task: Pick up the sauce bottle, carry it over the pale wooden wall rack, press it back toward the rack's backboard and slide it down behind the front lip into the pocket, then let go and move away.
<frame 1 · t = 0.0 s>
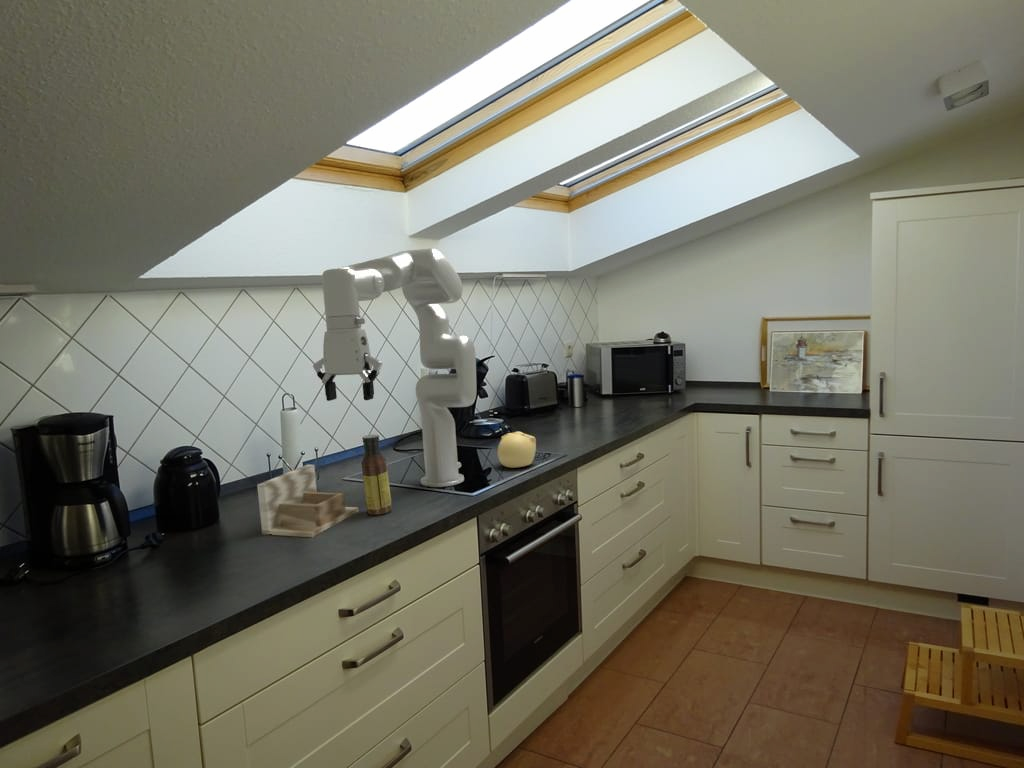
hand: (350, 399, 161), 31 cm above the countertop, tool pointing down, fingers open, 9 cm apart
wall rack: (312, 522, 175), on the countertop
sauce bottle: (379, 513, 181), on the countertop
pale yellow rounded lump: (517, 466, 222), on the countertop
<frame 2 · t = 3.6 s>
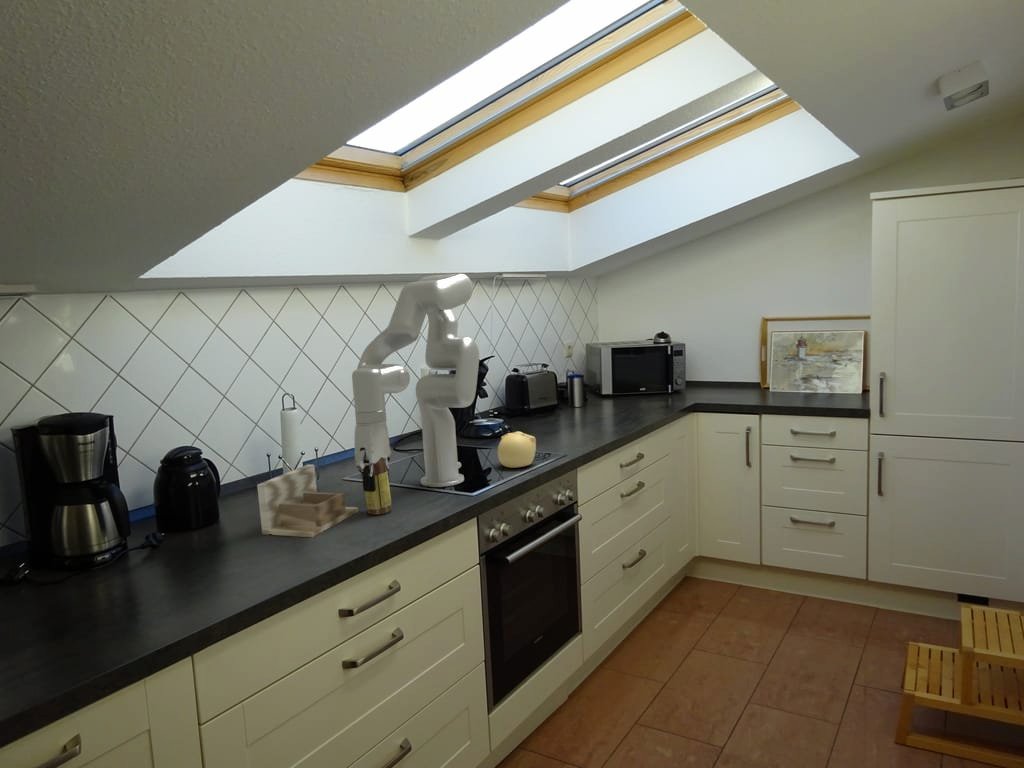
hand: (376, 486, 180), 7 cm above the countertop, tool pointing down, fingers closed on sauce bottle, 6 cm apart
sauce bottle: (379, 513, 181), on the countertop, touching gripper
everything else where it was.
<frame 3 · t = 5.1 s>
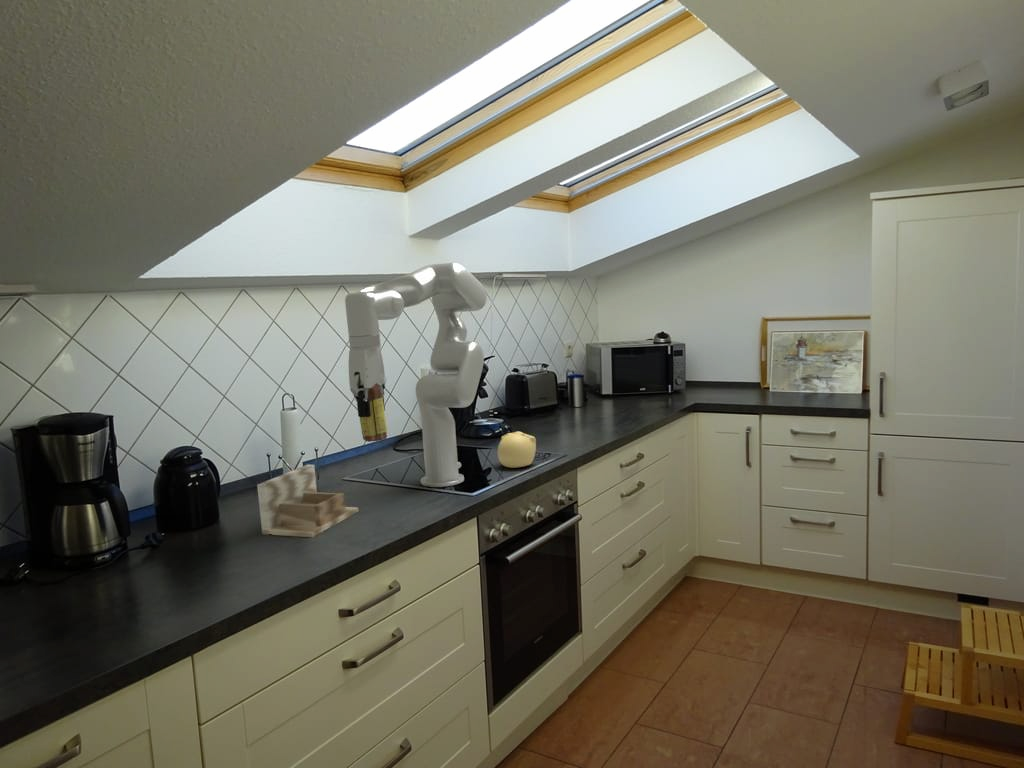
hand: (371, 413, 178), 25 cm above the countertop, tool pointing down, fingers closed on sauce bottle, 6 cm apart
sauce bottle: (374, 440, 179), point 18 cm above the countertop, touching gripper
everything else where it was.
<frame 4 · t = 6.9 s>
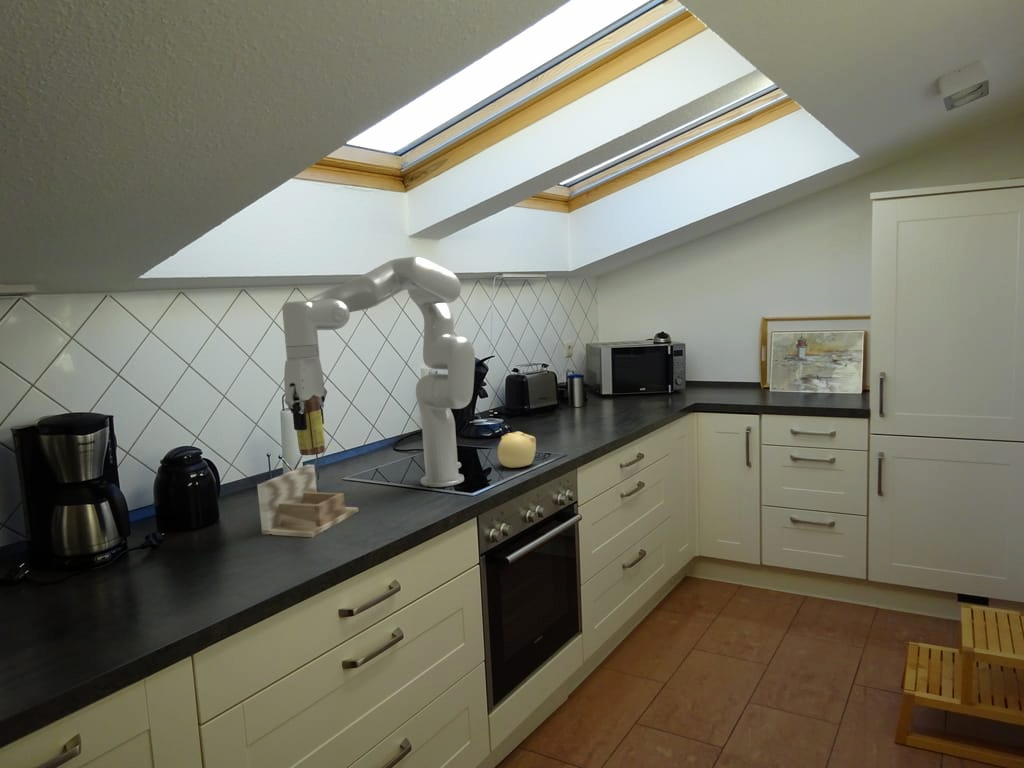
hand: (309, 426, 172), 24 cm above the countertop, tool pointing down, fingers closed on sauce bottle, 6 cm apart
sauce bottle: (311, 454, 173), point 17 cm above the countertop, touching gripper
everything else where it was.
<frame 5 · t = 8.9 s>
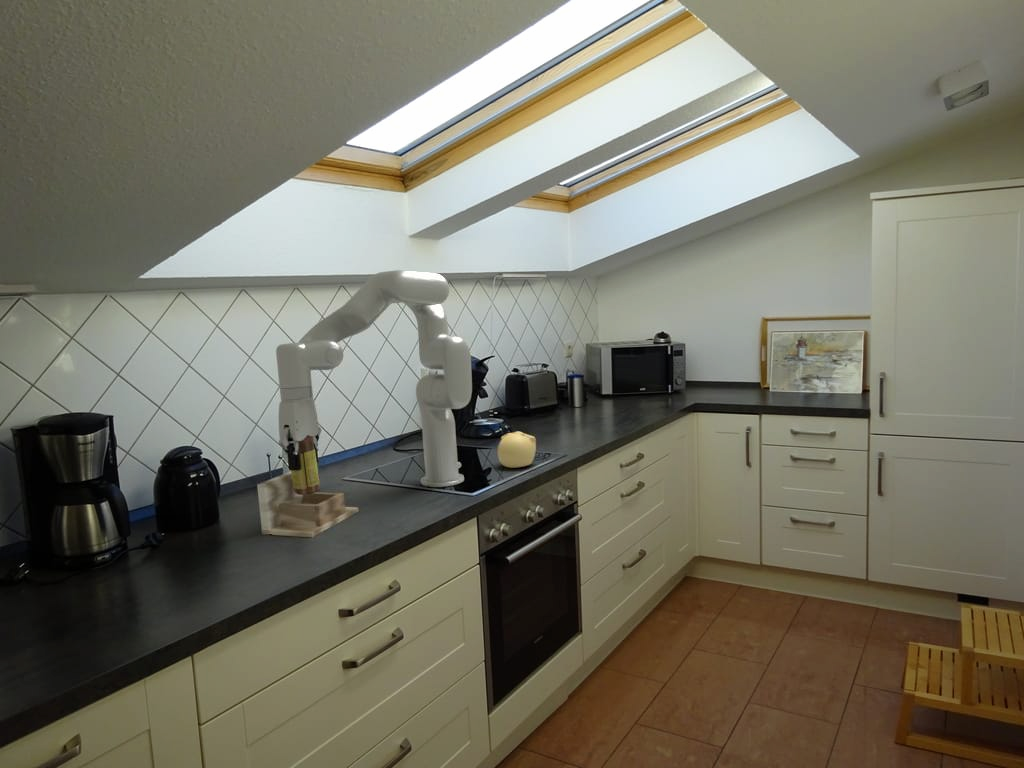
hand: (303, 465, 174), 14 cm above the countertop, tool pointing down, fingers closed on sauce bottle, 6 cm apart
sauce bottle: (306, 493, 175), point 7 cm above the countertop, touching gripper
everything else where it was.
when the fingers open (9 cm above the countertop, at t = 10.5 s): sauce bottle drops 1 cm, resting on wall rack.
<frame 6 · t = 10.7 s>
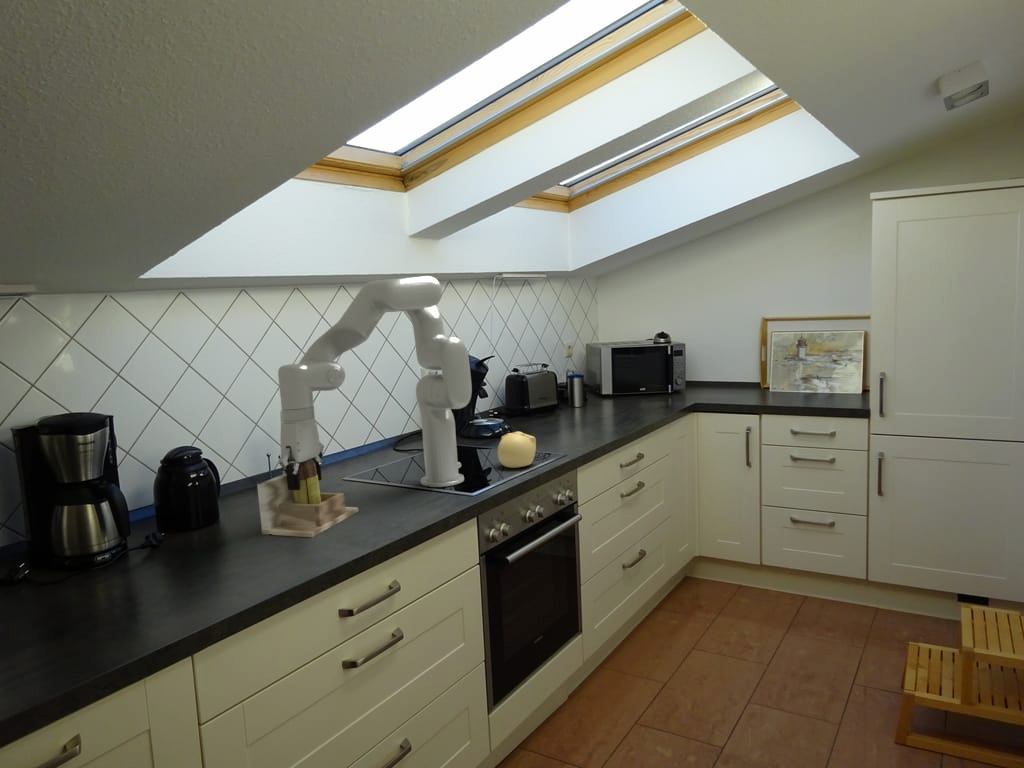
hand: (305, 484, 175), 10 cm above the countertop, tool pointing down, fingers open, 8 cm apart
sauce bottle: (309, 518, 176), point 1 cm above the countertop, touching wall rack
everything else where it was.
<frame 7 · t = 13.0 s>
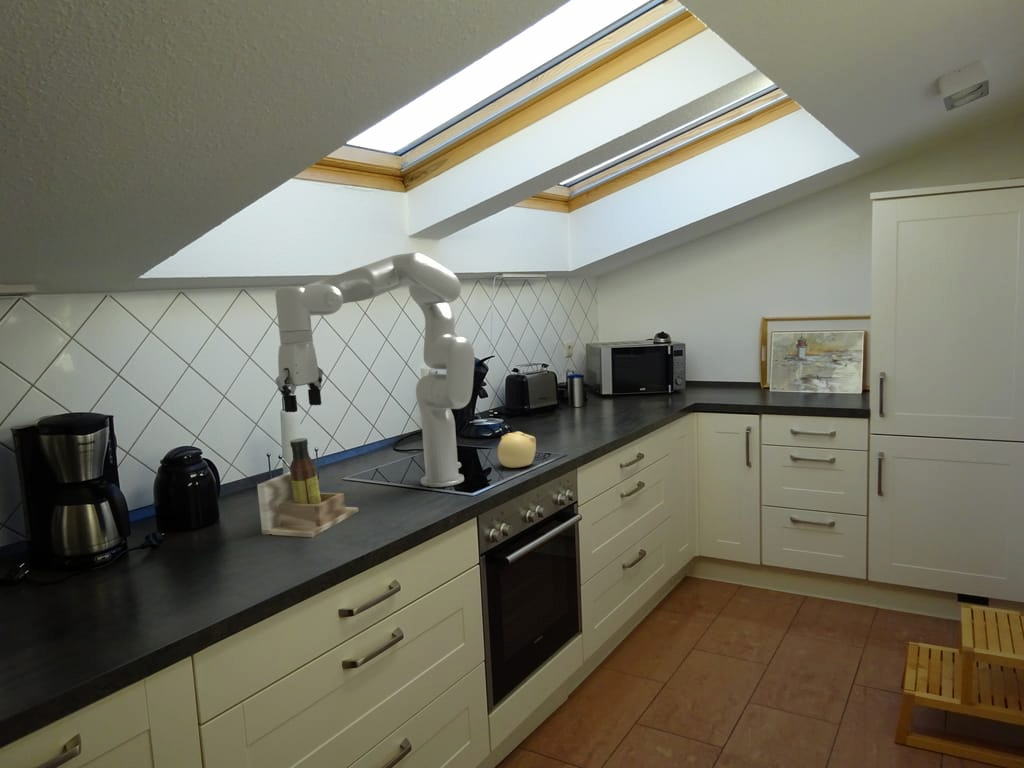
hand: (303, 408, 173), 28 cm above the countertop, tool pointing down, fingers open, 9 cm apart
nothing on the countertop moved.
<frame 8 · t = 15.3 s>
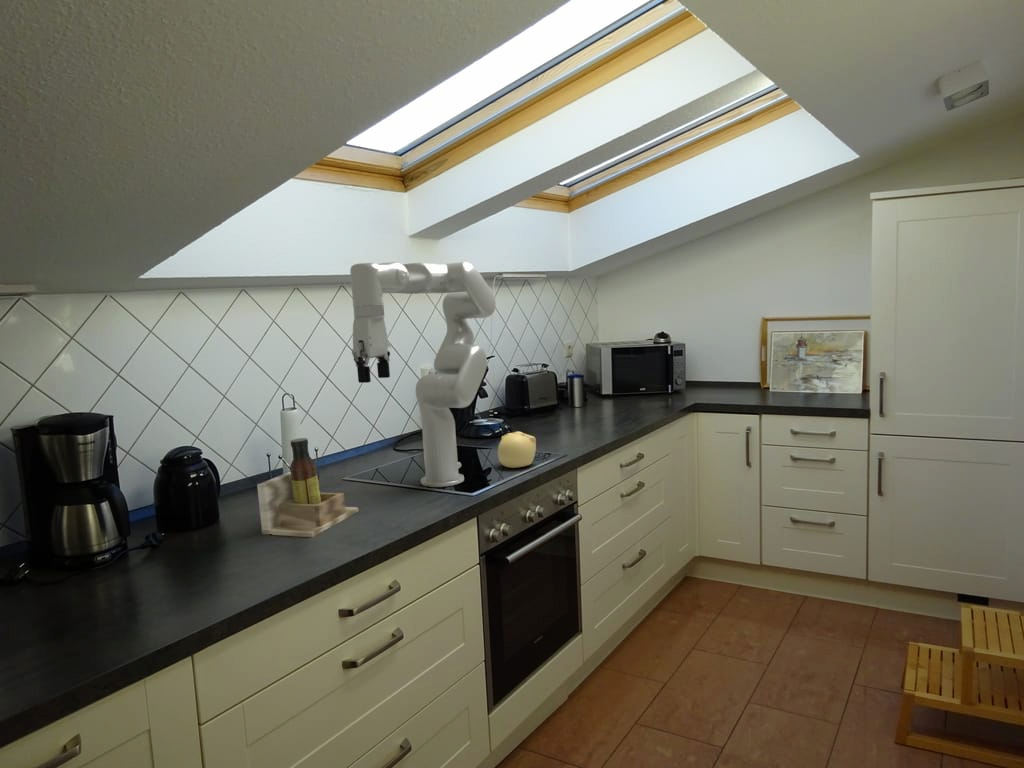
hand: (374, 379, 182), 33 cm above the countertop, tool pointing down, fingers open, 9 cm apart
nothing on the countertop moved.
at the end: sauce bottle 0.9 cm off-centre on the wall rack, point 0.8 cm above the wall rack's base; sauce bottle tilted 0°; the gripper is holding nothing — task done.
